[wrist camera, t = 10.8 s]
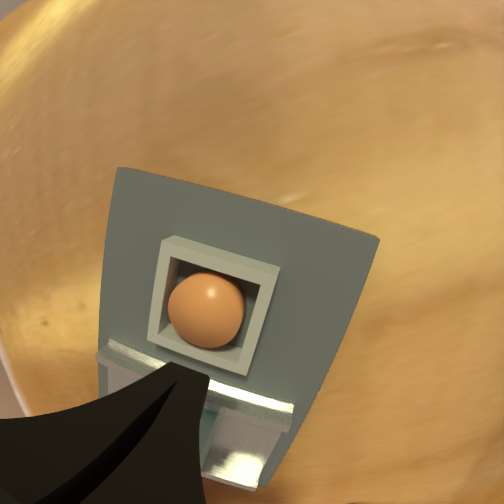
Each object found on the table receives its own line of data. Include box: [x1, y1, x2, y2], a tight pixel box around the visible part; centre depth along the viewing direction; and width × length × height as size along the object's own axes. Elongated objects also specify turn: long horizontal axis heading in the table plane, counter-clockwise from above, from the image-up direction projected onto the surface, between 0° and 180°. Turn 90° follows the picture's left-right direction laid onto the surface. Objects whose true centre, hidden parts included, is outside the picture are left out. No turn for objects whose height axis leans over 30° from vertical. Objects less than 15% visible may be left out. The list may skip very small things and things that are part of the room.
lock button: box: [168, 269, 247, 348], centre depth 15 cm, size 4×4×2 cm
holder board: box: [98, 167, 380, 487], centre depth 18 cm, size 20×14×1 cm
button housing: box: [147, 235, 280, 376], centre depth 16 cm, size 6×6×2 cm
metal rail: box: [96, 336, 295, 492], centre depth 18 cm, size 8×12×2 cm
